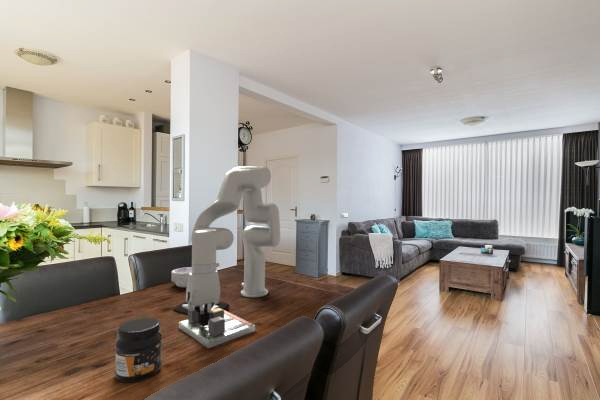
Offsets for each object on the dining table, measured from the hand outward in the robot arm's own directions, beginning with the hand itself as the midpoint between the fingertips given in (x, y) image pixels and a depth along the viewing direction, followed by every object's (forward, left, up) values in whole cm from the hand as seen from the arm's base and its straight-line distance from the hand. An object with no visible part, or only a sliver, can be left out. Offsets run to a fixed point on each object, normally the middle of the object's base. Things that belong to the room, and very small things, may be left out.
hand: (203, 324), depth 99 cm
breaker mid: (0, +5, -1) cm, 5 cm away
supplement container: (+9, -22, -3) cm, 24 cm away
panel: (0, +5, -3) cm, 6 cm away
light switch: (-21, +10, -4) cm, 23 cm away
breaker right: (+7, +1, -1) cm, 7 cm away
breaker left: (-7, +1, -1) cm, 7 cm away
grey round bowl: (-58, +22, -3) cm, 62 cm away
